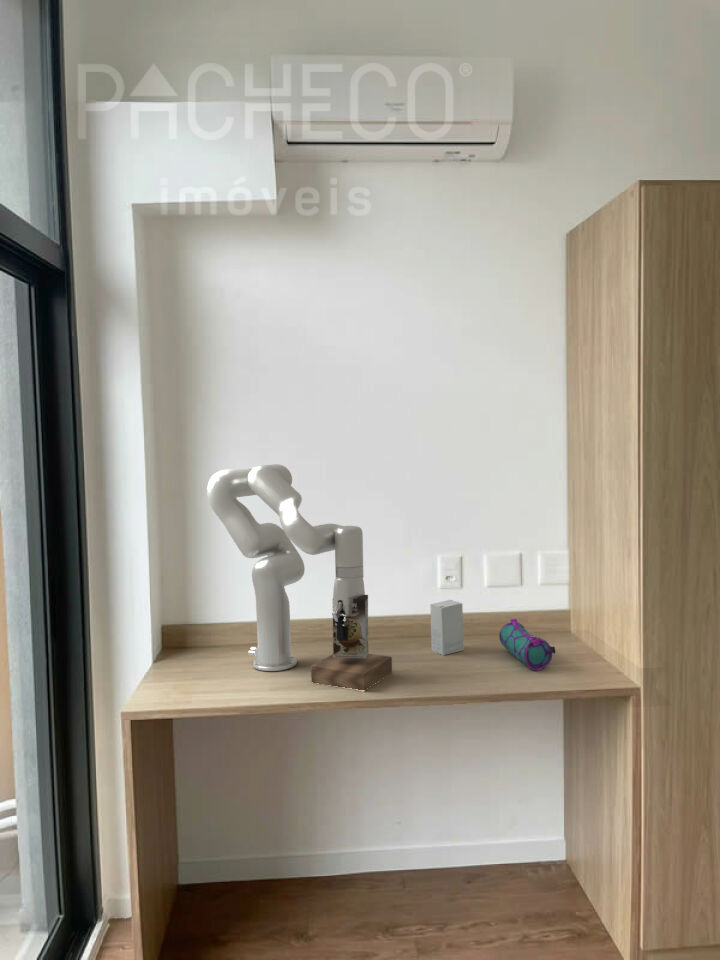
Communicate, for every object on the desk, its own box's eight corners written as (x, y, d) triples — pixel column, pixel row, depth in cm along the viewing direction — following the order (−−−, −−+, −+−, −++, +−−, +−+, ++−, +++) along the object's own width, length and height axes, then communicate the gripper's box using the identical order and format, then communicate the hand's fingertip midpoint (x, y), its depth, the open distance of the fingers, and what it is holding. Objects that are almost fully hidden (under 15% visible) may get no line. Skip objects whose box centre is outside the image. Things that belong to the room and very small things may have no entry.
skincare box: (451, 646, 218) (451, 599, 217) (464, 651, 213) (463, 602, 212) (430, 651, 213) (429, 602, 213) (442, 656, 208) (441, 606, 207)
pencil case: (555, 670, 193) (555, 636, 193) (525, 673, 192) (524, 638, 191) (525, 649, 214) (525, 617, 213) (497, 651, 212) (497, 619, 212)
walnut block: (311, 684, 188) (311, 665, 188) (342, 666, 202) (341, 649, 202) (363, 693, 181) (363, 674, 180) (392, 674, 194) (391, 656, 194)
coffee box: (332, 658, 189) (331, 598, 188) (336, 650, 195) (335, 593, 194) (366, 659, 187) (365, 599, 186) (369, 651, 194) (368, 593, 193)
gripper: (353, 565, 199) (354, 626, 200) (320, 576, 184) (321, 642, 185) (377, 567, 196) (378, 629, 197) (344, 579, 180) (346, 646, 181)
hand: (350, 635), depth 191 cm, fingers closed on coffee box, 8 cm apart
